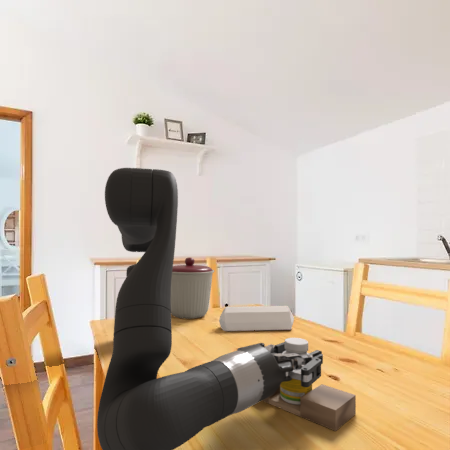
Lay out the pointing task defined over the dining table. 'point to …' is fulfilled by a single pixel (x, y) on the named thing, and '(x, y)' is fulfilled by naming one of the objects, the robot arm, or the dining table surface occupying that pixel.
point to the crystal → (256, 318)
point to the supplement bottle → (293, 388)
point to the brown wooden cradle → (320, 406)
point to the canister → (190, 290)
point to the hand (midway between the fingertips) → (303, 351)
